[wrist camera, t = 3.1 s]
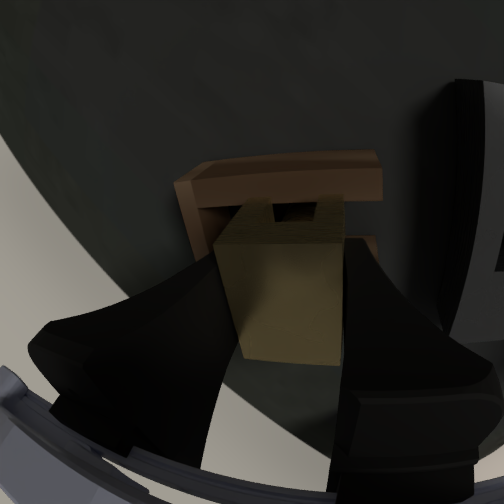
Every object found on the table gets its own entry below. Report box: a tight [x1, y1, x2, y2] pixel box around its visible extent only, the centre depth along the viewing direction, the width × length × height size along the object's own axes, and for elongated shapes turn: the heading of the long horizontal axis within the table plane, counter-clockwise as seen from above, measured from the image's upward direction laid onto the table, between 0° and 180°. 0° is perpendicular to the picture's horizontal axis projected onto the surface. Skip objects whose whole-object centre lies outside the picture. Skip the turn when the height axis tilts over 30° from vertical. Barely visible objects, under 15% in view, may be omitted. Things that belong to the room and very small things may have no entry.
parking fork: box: [174, 149, 383, 264], centre depth 13 cm, size 5×8×3 cm
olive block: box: [213, 194, 345, 366], centre depth 11 cm, size 4×3×6 cm
